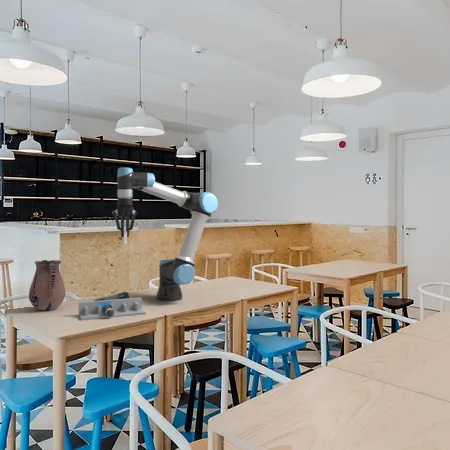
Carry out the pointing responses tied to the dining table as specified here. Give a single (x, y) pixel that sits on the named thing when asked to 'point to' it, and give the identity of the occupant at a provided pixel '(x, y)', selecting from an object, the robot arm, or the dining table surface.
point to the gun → (115, 297)
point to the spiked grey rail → (118, 306)
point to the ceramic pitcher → (47, 286)
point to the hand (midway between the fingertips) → (124, 243)
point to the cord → (108, 311)
